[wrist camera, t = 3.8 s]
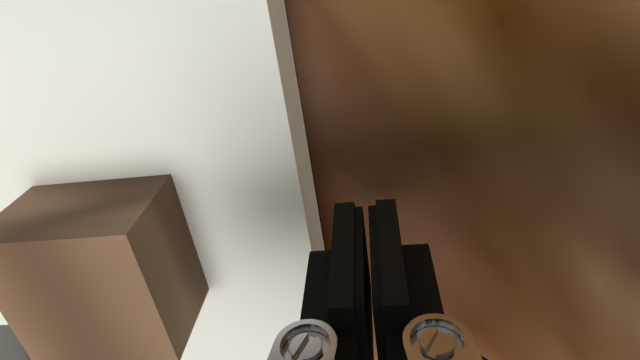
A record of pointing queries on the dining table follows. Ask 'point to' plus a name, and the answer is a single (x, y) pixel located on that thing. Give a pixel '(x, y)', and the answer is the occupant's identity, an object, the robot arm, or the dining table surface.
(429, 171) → the dining table surface
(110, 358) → the walnut block
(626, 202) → the dining table surface
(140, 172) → the trap box
